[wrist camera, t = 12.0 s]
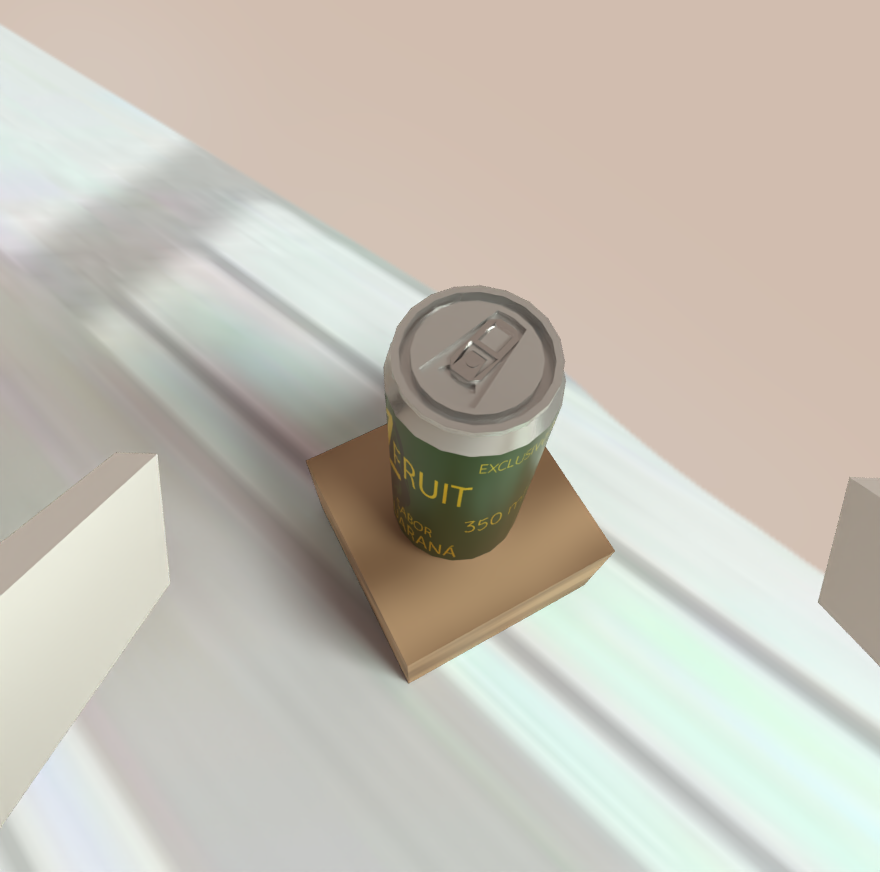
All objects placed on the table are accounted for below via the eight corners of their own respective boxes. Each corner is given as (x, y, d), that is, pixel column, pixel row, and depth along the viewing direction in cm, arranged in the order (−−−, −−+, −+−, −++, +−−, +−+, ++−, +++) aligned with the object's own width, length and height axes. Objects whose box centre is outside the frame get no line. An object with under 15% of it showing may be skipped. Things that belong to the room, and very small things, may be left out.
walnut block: (322, 507, 36) (305, 460, 31) (485, 429, 38) (496, 373, 33) (408, 683, 32) (407, 666, 27) (584, 585, 35) (615, 551, 29)
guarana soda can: (446, 428, 31) (462, 250, 21) (539, 499, 30) (609, 347, 19) (367, 512, 30) (340, 362, 19) (463, 591, 28) (494, 480, 17)
